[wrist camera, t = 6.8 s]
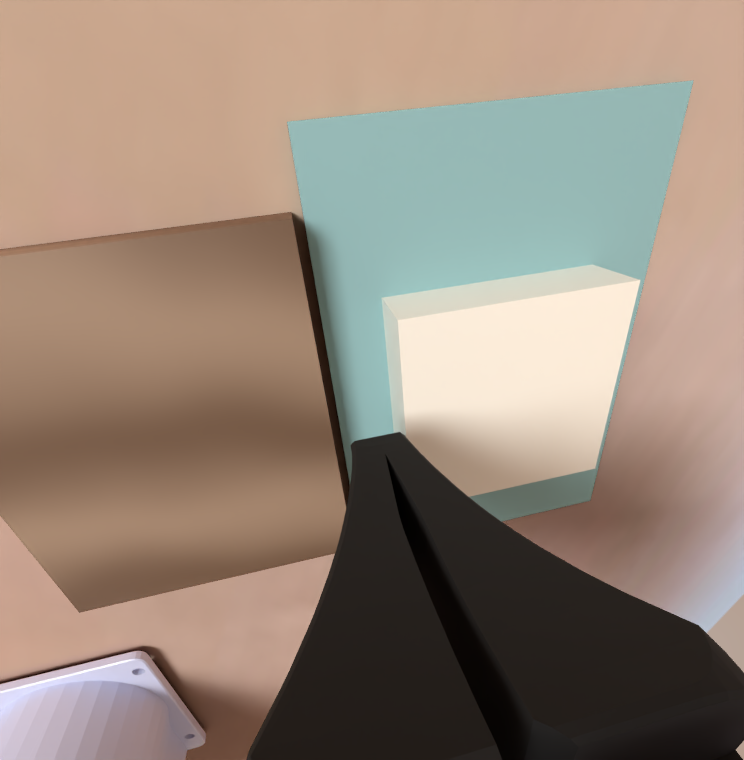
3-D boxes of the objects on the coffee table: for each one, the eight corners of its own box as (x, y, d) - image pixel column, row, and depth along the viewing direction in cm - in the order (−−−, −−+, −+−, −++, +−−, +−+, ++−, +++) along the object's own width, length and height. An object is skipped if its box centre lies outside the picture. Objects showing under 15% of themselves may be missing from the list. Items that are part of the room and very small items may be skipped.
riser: (348, 519, 17) (353, 549, 15) (96, 574, 15) (79, 612, 14) (291, 212, 11) (292, 218, 9) (-126, 265, 9) (-191, 281, 8)
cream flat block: (562, 436, 16) (595, 468, 14) (397, 471, 15) (411, 509, 14) (592, 264, 13) (640, 279, 11) (381, 298, 12) (397, 320, 10)
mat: (586, 496, 19) (590, 500, 19) (361, 548, 18) (361, 554, 17) (684, 82, 11) (693, 80, 11) (287, 122, 10) (287, 121, 9)
